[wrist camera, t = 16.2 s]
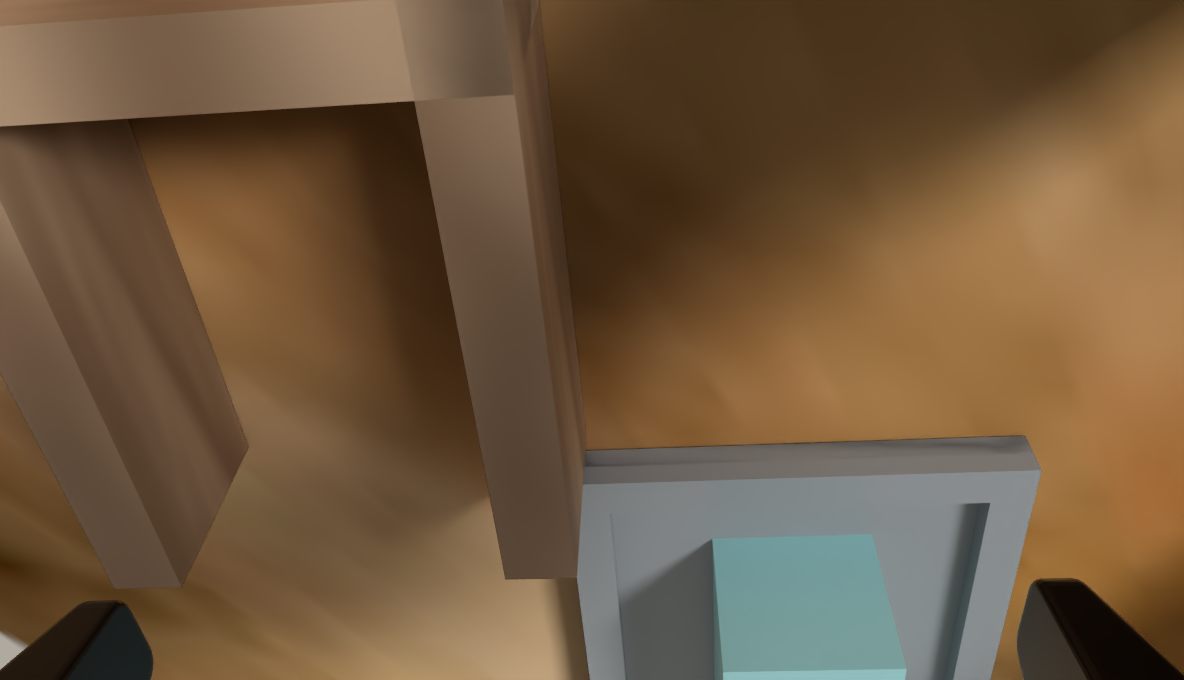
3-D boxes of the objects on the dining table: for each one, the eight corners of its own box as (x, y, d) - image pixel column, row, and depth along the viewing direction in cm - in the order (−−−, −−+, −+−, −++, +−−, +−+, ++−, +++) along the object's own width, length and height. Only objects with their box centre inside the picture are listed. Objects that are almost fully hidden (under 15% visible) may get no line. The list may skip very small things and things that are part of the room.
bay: (530, -86, 17) (501, -10, 14) (585, 434, 24) (576, 577, 21) (-13, -45, 18) (-177, 37, 15) (190, 449, 25) (114, 589, 22)
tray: (1025, 435, 24) (1041, 469, 23) (954, 749, 31) (964, 785, 30) (567, 451, 25) (564, 485, 24) (605, 753, 32) (603, 788, 31)
